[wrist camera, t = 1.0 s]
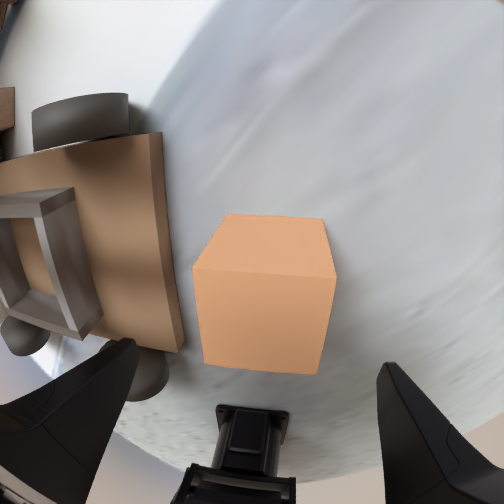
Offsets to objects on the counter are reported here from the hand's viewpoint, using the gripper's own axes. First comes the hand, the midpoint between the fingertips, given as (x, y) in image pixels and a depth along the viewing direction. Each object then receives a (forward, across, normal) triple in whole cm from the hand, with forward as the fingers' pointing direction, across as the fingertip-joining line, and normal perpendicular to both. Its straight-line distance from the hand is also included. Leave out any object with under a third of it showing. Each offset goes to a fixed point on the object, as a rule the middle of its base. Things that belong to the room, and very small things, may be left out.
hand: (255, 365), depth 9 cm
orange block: (+8, 0, 0) cm, 8 cm away
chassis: (+8, +16, 0) cm, 18 cm away
